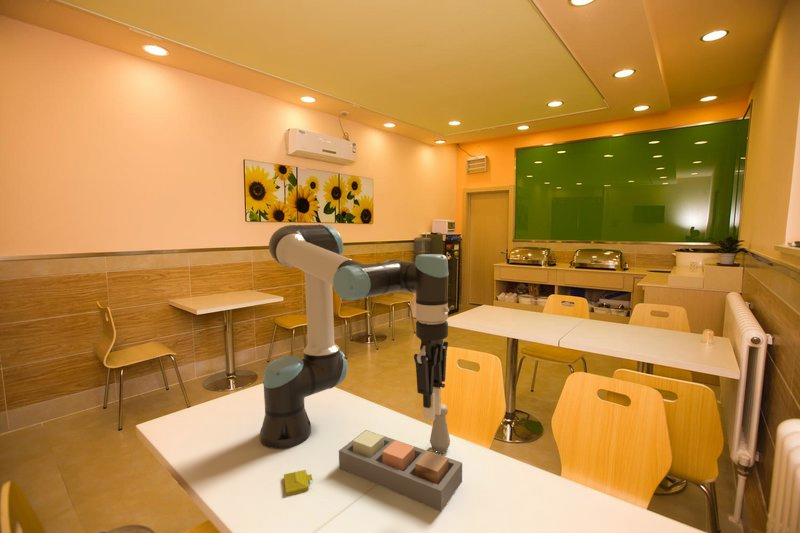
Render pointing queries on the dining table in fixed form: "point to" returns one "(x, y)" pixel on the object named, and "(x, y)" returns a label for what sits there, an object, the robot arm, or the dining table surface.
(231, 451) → the dining table surface
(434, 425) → the salt shaker
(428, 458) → the walnut key
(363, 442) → the cream square block
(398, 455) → the terracotta key
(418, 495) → the key panel
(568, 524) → the dining table surface
